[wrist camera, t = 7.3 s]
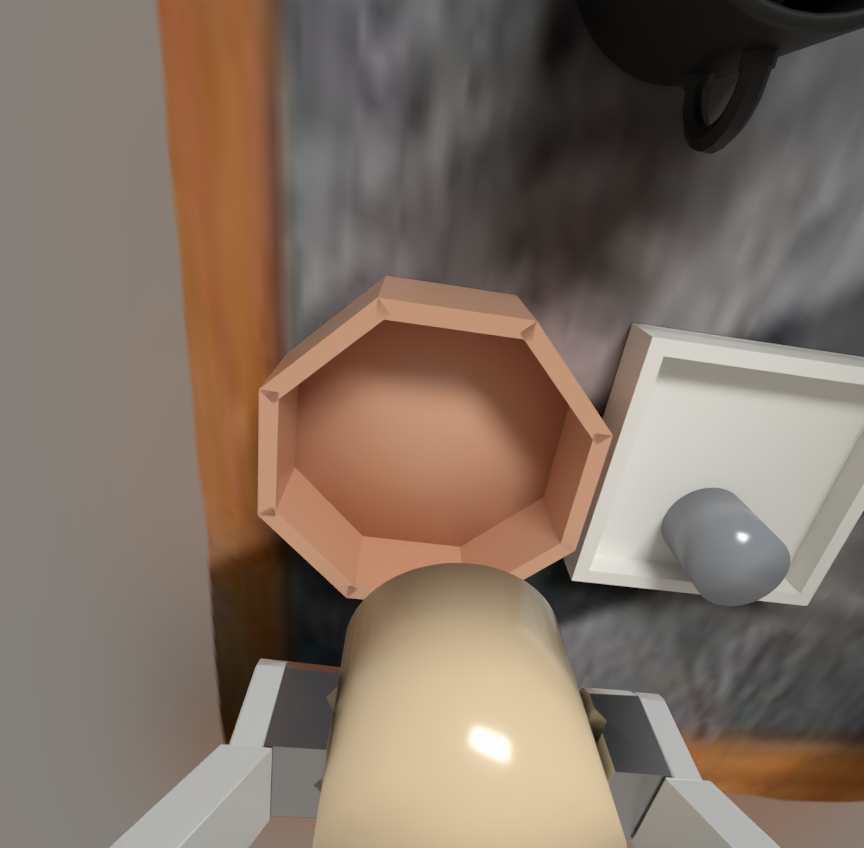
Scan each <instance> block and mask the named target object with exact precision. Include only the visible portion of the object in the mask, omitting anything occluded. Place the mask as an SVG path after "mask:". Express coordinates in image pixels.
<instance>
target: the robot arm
mask: <svg viewBox="0 0 864 848" xmlns="http://www.w3.org/2000/svg"><path fill="white" fill-rule="evenodd" d="M340 674H341V667H334V666H325V665H317V664H308V663H299V662H291V661H280V660H270V659H260V660H259V662H258V663H257V665H256V667H255V670H254V673H253V676H252V679H251V682H250V685H249V687H248V690H247V693H246V696H245V699H244V702H243V705H242V708H241V711H240V714H239V717H238V720H237V723H236V726H235V729H234V731H233V734H232V737H231V740H230V743H229V744H220V745H219V746H218V747H217V748H216V749H215V750H214V751H212V752H211V753H210V754H209V755H208V756H207V757H206V758H205V759H204V760H203V761H202V762H201V763H200V764H198V765H197V766H196V767H195V768H194V769H193V770H192V771H191V772H190V773H189V774H188V775H187V776H186V777H185V778H183V780H181V781H180V782H179V783H178V784H177V785H176V786H175V787H174V788H173V789H172V790H171V791H170V792H169V793H167V794H166V795H165V796H164V797H163V798H162V799H161V800H160V801H159V802H158V803H157V804H156V805H155V806H153V807H152V808H151V809H150V810H149V811H148V812H147V813H146V814H145V815H144V816H143V817H142V818H141V819H140V820H138V821H137V823H135V824H134V825H133V826H132V827H131V828H130V829H129V830H128V831H127V832H126V833H125V834H123V835H122V836H121V838H119V839H118V840H117V841H116V842H115V843H114V844H113V845H112V846H111V847H110V848H249V847H250V845H251V844H252V843H253V841H254V840H255V839H256V838H257V836H258V835H259V833H260V832H261V831H262V829H263V828H264V827H265V825H266V824H267V823H268V822H269V820H270V816H276V817H305V818H317V812H318V806H319V799H320V793H321V787H322V781H323V777H324V775H325V769H326V763H327V757H328V751H329V745H330V739H331V732H332V721H333V715H334V712H335V708H336V702H337V695H338V689H339V682H340ZM579 692H580V695H581V698H582V702H583V705H584V708H585V711H586V714H587V718H588V721H589V724H590V727H591V730H592V734H593V737H594V740H595V743H596V746H597V750H598V753H599V756H600V759H601V762H602V766H603V769H604V772H605V775H606V778H607V782H608V785H609V788H610V791H611V794H612V797H613V801H614V804H615V807H616V810H617V813H618V817H619V820H620V823H621V826H622V829H623V833H624V836H625V839H628V840H632V842H631V843H632V844H633V846H634V847H635V848H780V847H779V846H778V845H777V844H776V843H775V842H774V841H773V840H772V839H771V838H770V837H769V836H768V835H766V833H765V832H763V831H762V830H761V829H760V828H759V827H758V826H757V825H756V824H755V823H754V822H753V821H752V820H751V819H749V817H748V816H747V815H745V813H743V812H742V811H741V810H740V809H739V808H738V807H737V806H736V805H735V804H734V803H733V802H732V801H731V800H730V799H729V798H728V797H727V796H726V795H725V794H724V793H722V792H721V791H720V790H719V789H718V788H717V787H716V786H715V785H714V784H713V783H712V782H711V781H707V780H702V778H701V776H700V774H699V772H698V770H697V768H696V765H695V763H694V761H693V759H692V757H691V755H690V753H689V751H688V749H687V747H686V745H685V742H684V740H683V738H682V736H681V734H680V732H679V730H678V728H677V726H676V724H675V722H674V719H673V717H672V715H671V713H670V711H669V709H668V707H667V705H666V703H665V701H664V699H663V698H662V697H661V696H660V695H659V694H651V693H640V692H631V691H623V690H609V689H595V688H582V689H581V690H580V691H579Z"/></svg>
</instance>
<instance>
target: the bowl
mask: <svg viewBox="0 0 864 848" xmlns="http://www.w3.org/2000/svg"><path fill="white" fill-rule="evenodd" d="M612 437H613V435H612V433H611V432H610V430H609V429H608V427H607V426H606V424H605V423H604V421H603V420H602V418H601V417H600V415H599V414H598V412H597V411H596V409H595V408H594V406H593V404H592V403H591V401H590V400H589V398H588V397H587V395H586V394H585V392H584V391H583V389H582V388H581V386H580V385H579V383H578V382H577V380H576V379H575V377H574V376H573V374H572V373H571V371H570V370H569V368H568V367H567V365H566V364H565V362H564V361H563V359H562V358H561V356H560V355H559V353H558V352H557V350H556V349H555V347H554V346H553V344H552V343H551V341H550V340H549V338H548V337H547V335H546V334H545V332H544V331H543V329H542V328H541V326H540V325H539V323H538V322H537V320H536V319H535V318H534V316H533V315H532V314H531V313H530V311H529V310H528V309H527V308H526V306H525V305H524V304H523V303H522V301H521V300H520V299H519V298H518V296H517V295H513V294H506V293H500V292H493V291H486V290H480V289H473V288H466V287H459V286H453V285H446V284H439V283H433V282H426V281H419V280H412V279H406V278H399V277H392V276H385V277H384V278H382V279H381V280H380V281H378V282H377V283H376V284H375V285H373V286H372V287H371V288H370V289H368V290H367V291H366V292H364V293H363V294H362V295H361V296H359V297H358V298H357V299H355V300H354V301H353V302H352V303H350V304H349V305H348V306H347V307H345V308H344V309H343V310H341V311H340V312H339V313H338V314H336V315H335V316H334V317H332V318H331V319H330V320H329V321H327V322H326V323H325V324H324V325H322V326H321V327H320V328H318V329H317V330H316V331H315V332H313V333H312V334H311V335H309V336H308V337H307V338H306V339H304V340H303V341H302V342H301V343H299V344H298V345H297V346H295V347H294V348H293V349H292V350H290V351H289V352H288V353H287V354H286V355H285V357H284V358H283V359H282V361H281V362H280V363H279V364H278V366H277V367H276V368H275V370H274V371H273V372H272V373H271V375H270V376H269V377H268V379H267V380H266V381H265V382H264V384H263V385H262V386H261V388H260V389H259V437H258V516H259V517H260V518H261V519H262V520H264V521H265V522H266V523H267V524H268V525H269V526H270V527H271V528H272V529H273V530H274V531H275V532H276V533H277V534H279V535H280V536H281V537H282V538H283V539H284V540H285V541H286V542H287V543H288V544H289V545H290V546H291V547H292V548H294V549H295V550H296V551H297V552H298V553H299V554H300V555H301V556H302V557H303V558H304V559H305V560H306V561H307V562H309V563H310V564H311V565H312V566H313V567H314V568H315V569H316V570H317V571H318V572H319V573H320V574H321V575H322V576H324V577H325V578H326V579H327V580H328V581H329V582H330V583H331V584H332V585H333V586H334V587H335V588H336V589H337V590H339V591H340V592H341V593H342V594H343V595H344V596H345V597H346V598H354V599H363V600H364V599H365V598H366V597H367V596H368V595H369V594H370V593H371V592H372V591H374V590H375V589H376V588H377V587H379V586H380V585H382V584H383V583H385V582H386V581H388V580H390V579H392V578H394V577H396V576H398V575H400V574H402V573H405V572H408V571H410V570H413V569H417V568H420V567H424V566H429V565H435V564H442V563H472V564H478V565H485V566H489V567H493V568H496V569H500V570H503V571H505V572H508V573H510V574H513V575H515V576H517V577H518V578H520V579H522V580H524V579H526V578H527V577H529V576H531V575H533V574H534V573H536V572H538V571H540V570H542V569H543V568H545V567H547V566H549V565H551V564H552V563H554V562H556V561H558V560H559V559H561V558H563V557H565V556H567V555H568V554H570V553H572V552H574V551H575V550H576V547H577V544H578V541H579V538H580V535H581V532H582V529H583V526H584V523H585V520H586V517H587V513H588V510H589V507H590V504H591V501H592V498H593V495H594V492H595V489H596V486H597V483H598V480H599V477H600V474H601V471H602V468H603V465H604V462H605V458H606V455H607V452H608V449H609V446H610V443H611V440H612Z"/></svg>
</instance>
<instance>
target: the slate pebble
mask: <svg viewBox="0 0 864 848" xmlns="http://www.w3.org/2000/svg"><path fill="white" fill-rule="evenodd" d="M662 536H663V539H664V541H665V543H666V544H667V546H668V547H669V549H670V550H671V552H672V553H673V555H674V556H675V558H676V559H677V561H678V562H679V564H680V565H681V567H682V568H683V570H684V571H685V573H686V574H687V576H688V577H689V579H690V580H691V582H692V583H693V585H694V586H695V588H696V589H697V591H698V592H699V593H700V595H701V596H702V597H703V598H704V599H706V600H707V601H709V602H711V603H714V604H717V605H721V606H740V605H745V604H749V603H752V602H755V601H757V600H759V599H761V598H763V597H765V596H766V595H768V594H769V593H771V592H772V591H773V590H775V589H776V588H777V587H778V586H779V585H780V583H781V582H782V581H783V580H784V578H785V576H786V575H787V572H788V570H789V567H790V554H789V551H788V549H787V547H786V545H785V544H784V543H783V542H782V541H781V540H780V539H779V538H778V537H777V536H776V535H775V534H774V533H773V532H772V531H771V530H770V529H769V528H768V527H767V526H766V525H765V524H764V523H763V522H762V521H761V520H760V519H759V518H758V517H757V516H756V515H755V514H754V513H753V512H752V511H751V510H750V509H749V508H748V507H747V506H746V505H745V504H744V503H743V502H742V501H741V500H740V499H739V498H738V497H737V496H736V495H735V494H734V493H732V492H730V491H728V490H725V489H721V488H704V489H699V490H696V491H693V492H690V493H688V494H686V495H684V496H683V497H681V498H680V499H679V500H677V501H676V502H675V503H674V504H673V505H672V506H671V507H670V508H669V510H668V511H667V513H666V514H665V516H664V519H663V522H662Z"/></svg>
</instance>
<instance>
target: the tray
mask: <svg viewBox="0 0 864 848" xmlns="http://www.w3.org/2000/svg"><path fill="white" fill-rule="evenodd" d="M602 420H603V421H604V423H605V424H606V426H607V427H608V429H609V430H610V432H611V433H612V435H613V437H612V440H611V443H610V446H609V449H608V452H607V455H606V458H605V462H604V465H603V468H602V471H601V474H600V477H599V480H598V483H597V486H596V489H595V492H594V495H593V498H592V501H591V504H590V507H589V510H588V513H587V517H586V520H585V523H584V526H583V529H582V532H581V535H580V538H579V541H578V544H577V547H576V550H575V551H574V552H572V553H570V554H568V555H567V556H565V557H563V559H564V562H565V565H566V567H567V570H568V573H569V575H570V578H571V581H580V582H589V583H599V584H608V585H617V586H627V587H636V588H645V589H654V590H664V591H673V592H682V593H692V594H700V593H699V592H698V591H697V589H696V588H695V586H694V585H693V583H692V582H691V580H690V579H689V577H688V576H687V574H686V573H685V571H684V570H683V568H682V567H681V565H680V564H679V562H678V561H677V559H676V558H675V556H674V555H673V553H672V552H671V550H670V549H669V547H668V546H667V544H666V543H665V541H664V539H663V536H662V522H663V519H664V516H665V514H666V513H667V511H668V510H669V508H670V507H671V506H672V505H673V504H674V503H675V502H676V501H677V500H679V499H680V498H681V497H683V496H684V495H686V494H688V493H690V492H693V491H696V490H699V489H704V488H721V489H725V490H728V491H730V492H732V493H734V494H735V495H736V496H737V497H738V498H739V499H740V500H741V501H742V502H743V503H744V504H745V505H746V506H747V507H748V508H749V509H750V510H751V511H752V512H753V513H754V514H755V515H756V516H757V517H758V518H759V519H760V520H761V521H762V522H763V523H764V524H765V525H766V526H767V527H768V528H769V529H770V530H771V531H772V532H773V533H774V534H775V535H776V536H777V537H778V538H779V539H780V540H781V541H782V542H783V543H784V544H785V545H786V547H787V549H788V551H789V554H790V567H789V570H788V572H787V575H786V576H785V578H784V580H783V581H782V582H781V583H780V585H779V586H778V587H777V588H776V589H775V590H773V591H772V592H771V593H769V594H768V595H766V596H765V597H763V598H761V599H759V600H757V601H766V602H775V603H785V604H794V605H803V606H807V605H808V604H809V602H810V600H811V599H812V597H813V595H814V594H815V592H816V590H817V589H818V587H819V585H820V583H821V582H822V580H823V578H824V577H825V575H826V573H827V572H828V570H829V568H830V566H831V565H832V563H833V561H834V560H835V558H836V556H837V555H838V553H839V551H840V550H841V548H842V546H843V544H844V543H845V541H846V539H847V538H848V536H849V534H850V533H851V531H852V529H853V528H854V526H855V524H856V522H857V521H858V519H859V517H860V516H861V514H862V512H863V511H864V357H861V356H854V355H847V354H840V353H834V352H827V351H820V350H813V349H806V348H800V347H793V346H786V345H779V344H773V343H766V342H759V341H752V340H745V339H739V338H732V337H725V336H718V335H711V334H705V333H698V332H691V331H684V330H678V329H671V328H664V327H657V326H650V325H644V324H637V323H632V325H631V329H630V332H629V335H628V338H627V341H626V345H625V348H624V351H623V354H622V357H621V361H620V364H619V367H618V370H617V373H616V377H615V380H614V383H613V386H612V389H611V393H610V396H609V399H608V402H607V405H606V409H605V412H604V415H603V418H602Z"/></svg>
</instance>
